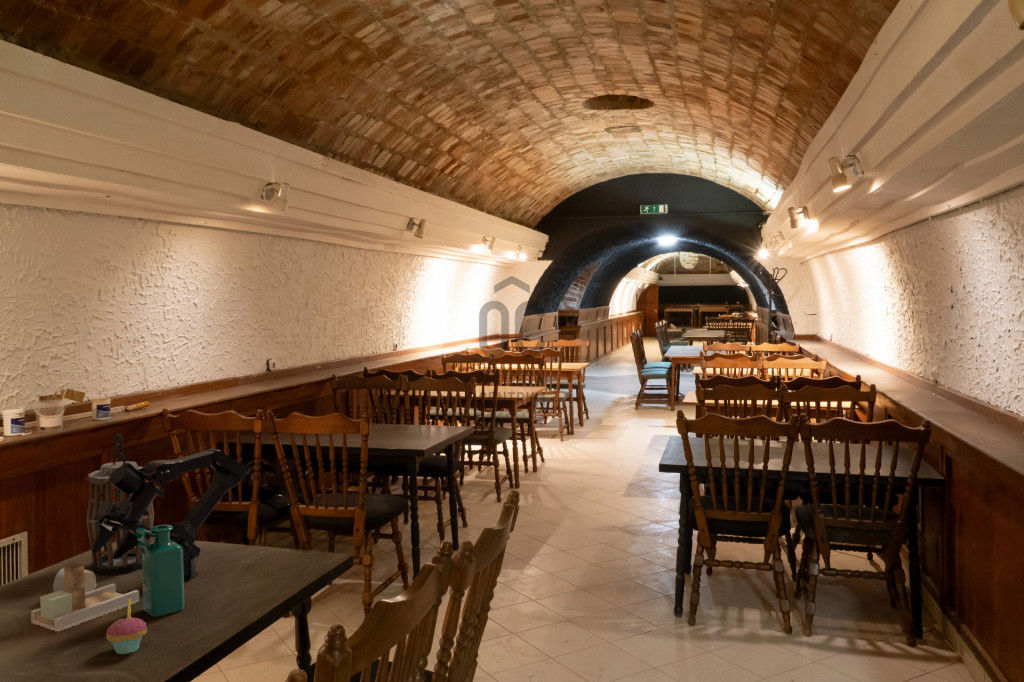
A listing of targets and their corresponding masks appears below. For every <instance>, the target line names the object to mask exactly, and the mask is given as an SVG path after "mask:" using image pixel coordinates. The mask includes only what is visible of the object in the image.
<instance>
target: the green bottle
mask: <svg viewBox="0 0 1024 682" xmlns="http://www.w3.org/2000/svg"><path fill="white" fill-rule="evenodd" d="M172 529H173V526H171V525H170V524H159V525H156V526H153V528H151V530H150V531H147V530H145V529H143V528H137V529H136V535H137V541H138V544H139V546H140V547H141V548H142V549H143V550H142V569H141V571H142V572H141V573H142V578H141V579H142V605H143V607H142V608H143V611H144V612H146V613H147V614H149V615H150V616H151V617H153V618H155V617H156V618H158V617H163V616H166V615H169V614H173V613H176V612H177V613H178V612H180V611H182V610H184V608H185V587H184V586H185V585H184V584H185V581H184V574H183V549H182V546H181V545H179V544H177V543H175V542H173V541H170V536H169V531H170V530H172ZM145 534H150V535H152V536H154V541H153V543H152V542H151V544H149V545H146V540H145ZM152 536H151V537H152Z"/></svg>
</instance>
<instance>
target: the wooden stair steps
mask: <svg viewBox="0 0 1024 682" xmlns="http://www.w3.org/2000/svg"><path fill="white" fill-rule="evenodd" d="M85 565H86V564H85V562H84V561H79V560H73V561H71V562H67V563H63V565H62V566H63V568H64V577H65V592H67V593H71V594H72V609H73V612H75V611H78V610H81V609H84V608H87V607H89V606H92V605H95V604H98V603H101V602H104V601H106V600H109V599H112V598H115V597H118V596H119V595H116V594H113V593H109V592H105V593H102V594H99V595H96V596H93V597H90V598H87V599H85V581H84V570H85ZM37 620H39V621H42V622H45V623H48V624H51V625H54V620H50V619H47V618H44V617H41V615H38V616H37Z"/></svg>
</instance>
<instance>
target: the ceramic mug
mask: <svg viewBox="0 0 1024 682" xmlns="http://www.w3.org/2000/svg"><path fill="white" fill-rule="evenodd" d="M96 577H97V576H96V573H93V571H92V570H89V569H84V581H85V593H86V592H89V591H92V590H95V589H97V588H96V587H97V580H96V579H97V578H96ZM52 590H53V592H56V591H59V590H61V591H64V592H65V577H64V567H63V568H61V569H60V570H59V571H58V572H57V573H56V575H55V577H54V580H53V586H52Z"/></svg>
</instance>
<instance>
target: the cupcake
mask: <svg viewBox="0 0 1024 682" xmlns="http://www.w3.org/2000/svg"><path fill="white" fill-rule="evenodd" d="M131 607H132V605H131V599H130V595H129V599H128V606H127V616H126V617H125V618H120V619H118V620H116V621H114V622H113V623H112V624H111V625H110V626H109V627H108V628H107V629H106V631H105V632H106V634H105V637H106V640H107V642H110V643H111V644H112V646H113V648H114V651H115V653H116V654H119V655H128V654H131V652H132V653H134V652H136V651H138V649H139V648H140V644H141V640H142V638H143V636H145V635H146V634H147V631H148V628H147V622H145V621H144V620H143V619H141V618H138V617H133V616H132V615H131V614H132V613H131V609H132V608H131Z"/></svg>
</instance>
